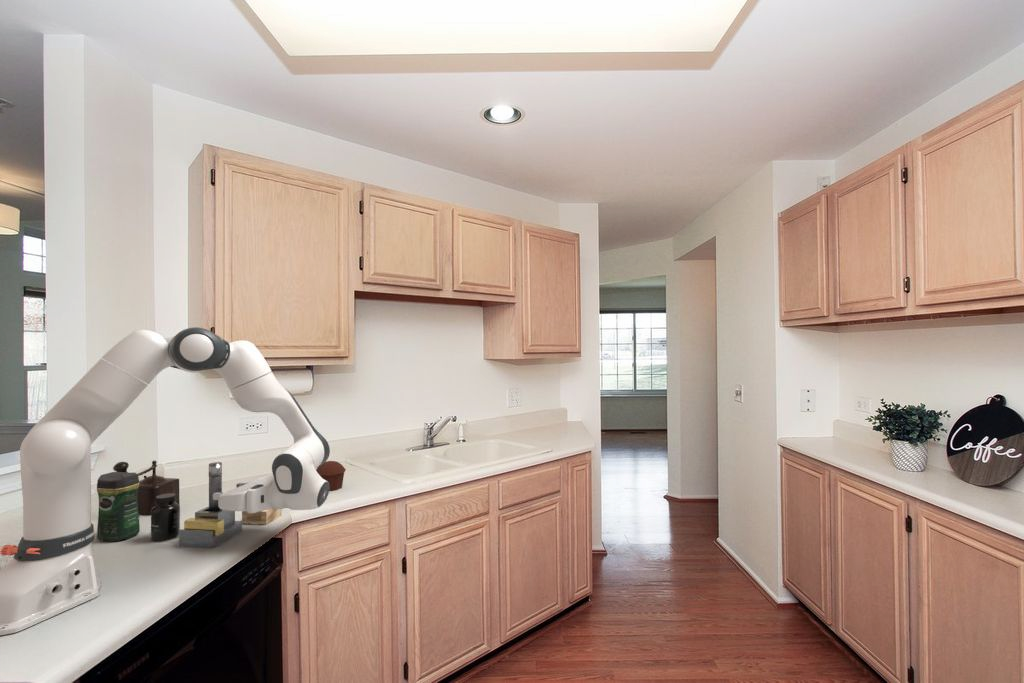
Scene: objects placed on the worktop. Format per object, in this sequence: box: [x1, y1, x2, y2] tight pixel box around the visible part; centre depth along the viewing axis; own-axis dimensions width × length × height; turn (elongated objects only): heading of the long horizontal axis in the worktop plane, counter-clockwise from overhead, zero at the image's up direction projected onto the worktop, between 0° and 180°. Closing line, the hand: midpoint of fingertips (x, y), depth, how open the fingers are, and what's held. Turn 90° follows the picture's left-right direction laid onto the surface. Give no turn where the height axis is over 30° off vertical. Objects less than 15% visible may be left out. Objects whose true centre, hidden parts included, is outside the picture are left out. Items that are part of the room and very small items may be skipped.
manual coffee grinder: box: [112, 460, 181, 516], centre depth 161 cm, size 16×11×18 cm
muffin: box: [316, 460, 347, 492], centre depth 187 cm, size 12×11×10 cm
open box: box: [241, 509, 283, 526], centre depth 154 cm, size 8×8×4 cm
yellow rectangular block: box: [183, 517, 224, 536], centre depth 135 cm, size 2×10×4 cm, turn 83°
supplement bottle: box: [150, 493, 181, 543], centre depth 140 cm, size 7×7×12 cm
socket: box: [178, 505, 243, 549], centre depth 139 cm, size 12×10×8 cm
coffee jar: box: [96, 471, 141, 542], centre depth 141 cm, size 10×8×19 cm
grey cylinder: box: [208, 461, 223, 512], centre depth 141 cm, size 3×3×18 cm
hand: (226, 490), depth 140 cm, fingers open, 8 cm apart
